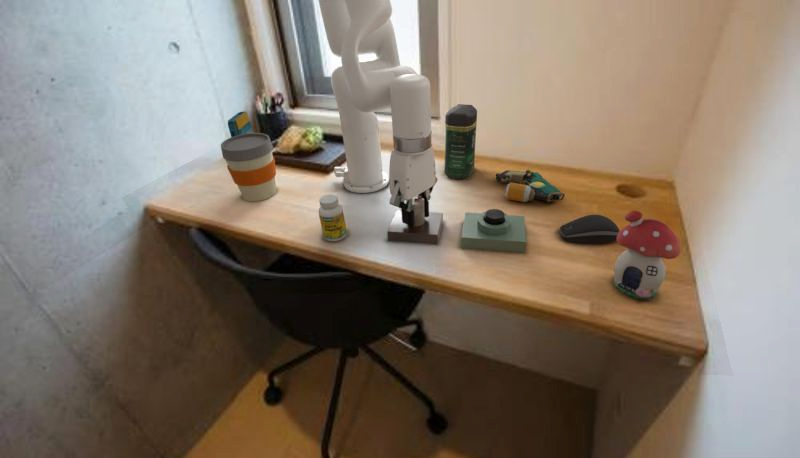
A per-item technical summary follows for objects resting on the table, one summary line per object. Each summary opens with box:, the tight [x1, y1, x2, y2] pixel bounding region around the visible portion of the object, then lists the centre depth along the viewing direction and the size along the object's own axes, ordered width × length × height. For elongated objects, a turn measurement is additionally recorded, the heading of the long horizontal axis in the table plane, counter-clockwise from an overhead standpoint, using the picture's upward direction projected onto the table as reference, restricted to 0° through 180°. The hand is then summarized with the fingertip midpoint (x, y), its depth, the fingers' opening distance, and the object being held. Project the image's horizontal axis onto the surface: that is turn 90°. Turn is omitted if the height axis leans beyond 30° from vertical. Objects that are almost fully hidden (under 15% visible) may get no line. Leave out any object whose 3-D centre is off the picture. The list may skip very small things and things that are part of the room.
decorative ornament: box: [613, 210, 681, 301], centre depth 70 cm, size 9×6×15 cm
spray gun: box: [495, 168, 565, 203], centre depth 105 cm, size 4×17×15 cm
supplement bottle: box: [318, 193, 348, 242], centre depth 91 cm, size 5×5×10 cm
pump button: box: [484, 208, 505, 225], centre depth 87 cm, size 4×4×2 cm
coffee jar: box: [444, 103, 478, 180], centre depth 112 cm, size 10×8×19 cm
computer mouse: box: [558, 214, 621, 245], centre depth 87 cm, size 7×12×4 cm, turn 88°
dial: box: [405, 195, 425, 226], centre depth 90 cm, size 4×4×6 cm
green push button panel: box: [460, 211, 527, 253], centre depth 89 cm, size 13×10×4 cm
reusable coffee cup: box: [220, 132, 277, 202], centre depth 109 cm, size 13×13×15 cm
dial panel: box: [386, 209, 444, 245], centre depth 93 cm, size 11×9×2 cm
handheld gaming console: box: [227, 111, 255, 138], centre depth 127 cm, size 10×4×15 cm, turn 174°
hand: (415, 218), depth 92 cm, fingers closed on dial, 4 cm apart
